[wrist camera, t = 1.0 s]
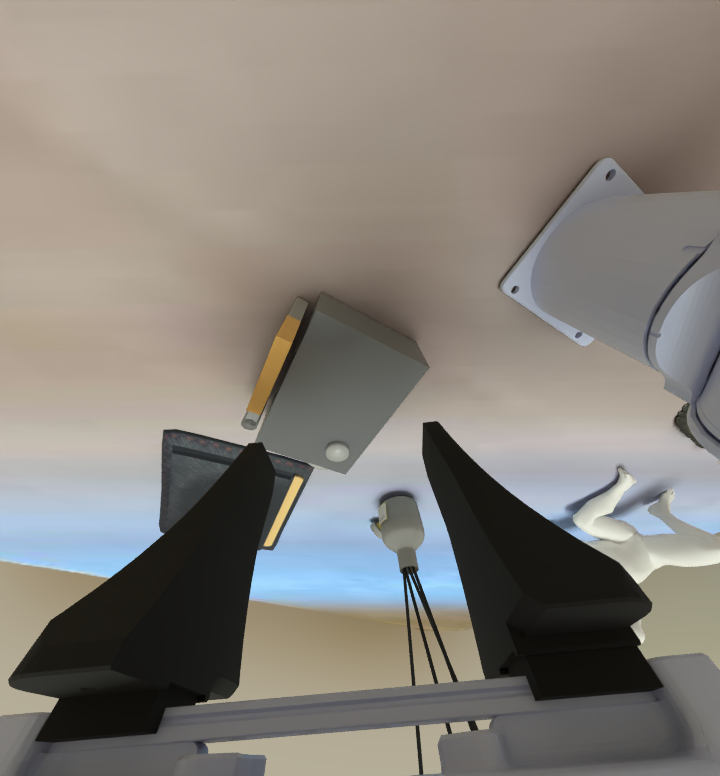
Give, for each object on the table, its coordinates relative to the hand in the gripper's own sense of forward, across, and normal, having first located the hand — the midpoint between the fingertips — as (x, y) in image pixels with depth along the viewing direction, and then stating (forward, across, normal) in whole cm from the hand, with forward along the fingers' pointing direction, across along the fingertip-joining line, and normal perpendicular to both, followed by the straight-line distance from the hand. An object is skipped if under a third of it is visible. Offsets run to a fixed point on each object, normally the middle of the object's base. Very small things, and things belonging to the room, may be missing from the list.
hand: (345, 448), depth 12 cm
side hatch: (+10, +5, 0) cm, 11 cm away
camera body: (+10, +1, +3) cm, 11 cm away
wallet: (+11, +16, +18) cm, 27 cm away
